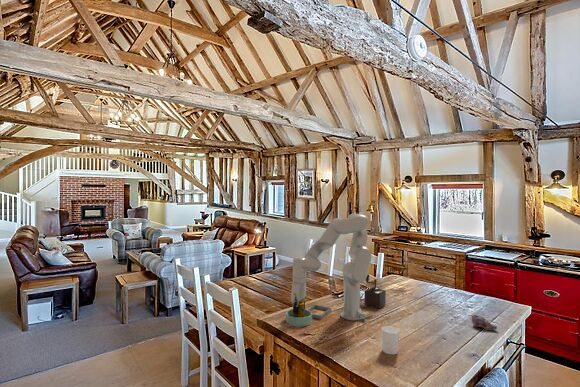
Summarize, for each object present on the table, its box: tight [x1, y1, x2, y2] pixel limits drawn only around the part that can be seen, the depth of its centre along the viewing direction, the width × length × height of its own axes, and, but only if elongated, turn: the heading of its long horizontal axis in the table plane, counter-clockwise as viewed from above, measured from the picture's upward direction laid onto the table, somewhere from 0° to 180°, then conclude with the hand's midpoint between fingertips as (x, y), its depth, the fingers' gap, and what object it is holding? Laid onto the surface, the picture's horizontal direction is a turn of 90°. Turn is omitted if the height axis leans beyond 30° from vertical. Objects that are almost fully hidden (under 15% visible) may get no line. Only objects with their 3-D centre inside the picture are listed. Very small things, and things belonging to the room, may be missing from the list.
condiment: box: [293, 299, 304, 318], centre depth 181 cm, size 7×8×12 cm
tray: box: [306, 304, 332, 321], centre depth 193 cm, size 11×15×2 cm
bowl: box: [285, 308, 313, 327], centre depth 181 cm, size 14×14×4 cm
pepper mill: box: [363, 273, 387, 309], centre depth 210 cm, size 16×11×18 cm
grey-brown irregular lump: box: [470, 314, 498, 331], centre depth 174 cm, size 12×8×6 cm, turn 40°
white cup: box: [381, 325, 400, 355], centre depth 148 cm, size 8×8×10 cm
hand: (299, 310), depth 181 cm, fingers open, 7 cm apart
